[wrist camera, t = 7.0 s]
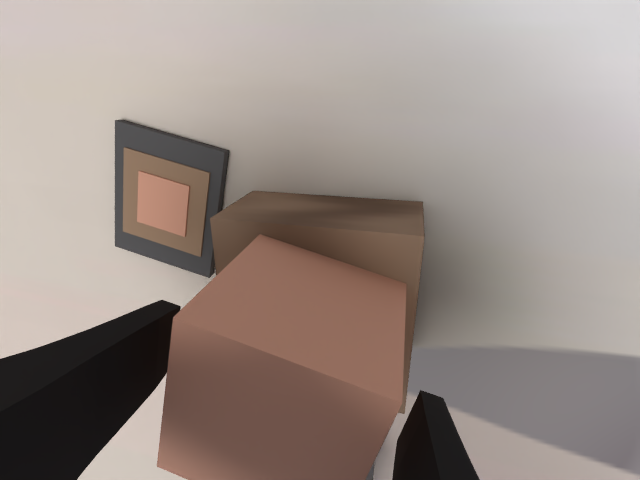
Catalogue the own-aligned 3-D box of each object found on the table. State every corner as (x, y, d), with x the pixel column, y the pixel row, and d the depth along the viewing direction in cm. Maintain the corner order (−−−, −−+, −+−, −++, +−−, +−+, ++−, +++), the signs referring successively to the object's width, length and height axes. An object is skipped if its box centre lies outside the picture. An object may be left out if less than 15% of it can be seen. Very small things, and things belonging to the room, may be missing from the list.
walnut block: (422, 199, 15) (424, 235, 11) (406, 346, 18) (404, 413, 14) (255, 189, 16) (210, 218, 13) (263, 325, 19) (228, 381, 15)
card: (229, 150, 16) (222, 152, 15) (213, 274, 18) (207, 279, 18) (121, 119, 16) (111, 120, 16) (120, 243, 19) (111, 247, 18)
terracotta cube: (406, 283, 12) (402, 403, 7) (360, 395, 14) (335, 541, 10) (259, 234, 13) (173, 317, 8) (236, 348, 15) (156, 466, 10)
